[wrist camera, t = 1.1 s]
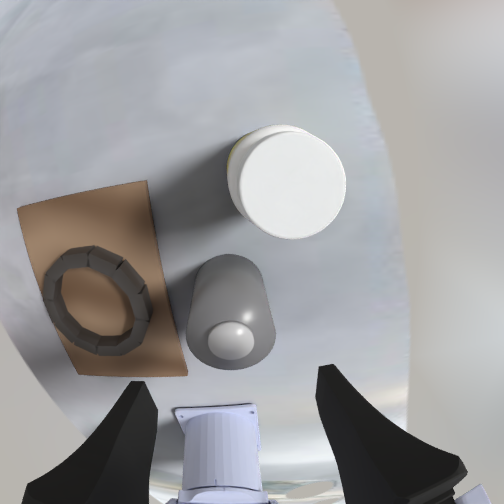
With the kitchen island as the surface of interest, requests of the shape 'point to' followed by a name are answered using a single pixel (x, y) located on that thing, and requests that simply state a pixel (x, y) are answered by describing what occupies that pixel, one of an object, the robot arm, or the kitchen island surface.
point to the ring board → (104, 281)
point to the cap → (230, 314)
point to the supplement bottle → (286, 181)
